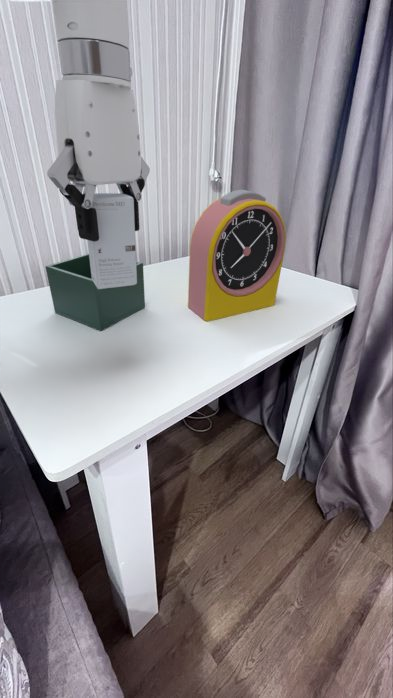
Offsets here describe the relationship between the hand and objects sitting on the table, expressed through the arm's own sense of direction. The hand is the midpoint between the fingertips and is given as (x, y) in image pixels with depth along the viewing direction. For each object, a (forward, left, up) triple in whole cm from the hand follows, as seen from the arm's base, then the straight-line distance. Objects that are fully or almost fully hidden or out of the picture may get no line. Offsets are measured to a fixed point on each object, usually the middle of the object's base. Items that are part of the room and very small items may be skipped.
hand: (110, 233), depth 46 cm
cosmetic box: (0, 0, -7) cm, 7 cm away
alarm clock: (+36, -4, -24) cm, 43 cm away
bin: (+15, +20, -23) cm, 34 cm away
